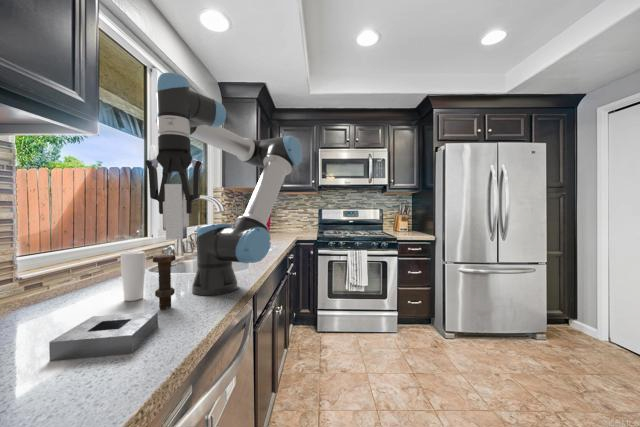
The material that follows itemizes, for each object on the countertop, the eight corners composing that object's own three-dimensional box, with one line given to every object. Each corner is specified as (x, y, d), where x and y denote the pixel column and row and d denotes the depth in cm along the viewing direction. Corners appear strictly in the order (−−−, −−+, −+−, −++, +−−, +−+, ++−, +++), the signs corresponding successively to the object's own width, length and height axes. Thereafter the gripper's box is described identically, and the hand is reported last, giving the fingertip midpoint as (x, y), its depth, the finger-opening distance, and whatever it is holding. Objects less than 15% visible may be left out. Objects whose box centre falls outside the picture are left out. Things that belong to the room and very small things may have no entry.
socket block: (92, 331, 69) (92, 316, 69) (158, 326, 71) (157, 311, 71) (49, 360, 55) (49, 342, 55) (132, 353, 58) (132, 335, 58)
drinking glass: (125, 297, 97) (124, 251, 97) (148, 295, 99) (147, 250, 99) (118, 303, 91) (117, 254, 91) (143, 301, 93) (142, 253, 93)
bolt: (150, 309, 85) (149, 256, 85) (166, 304, 89) (165, 254, 89) (163, 311, 82) (162, 257, 82) (179, 306, 86) (178, 255, 86)
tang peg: (170, 238, 78) (169, 185, 78) (186, 237, 79) (185, 185, 79) (165, 239, 75) (164, 184, 74) (182, 239, 75) (181, 184, 75)
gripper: (131, 131, 72) (134, 228, 72) (206, 133, 75) (208, 226, 75) (144, 139, 79) (146, 226, 79) (211, 140, 82) (213, 225, 82)
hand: (176, 226), depth 77 cm, fingers closed on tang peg, 4 cm apart
